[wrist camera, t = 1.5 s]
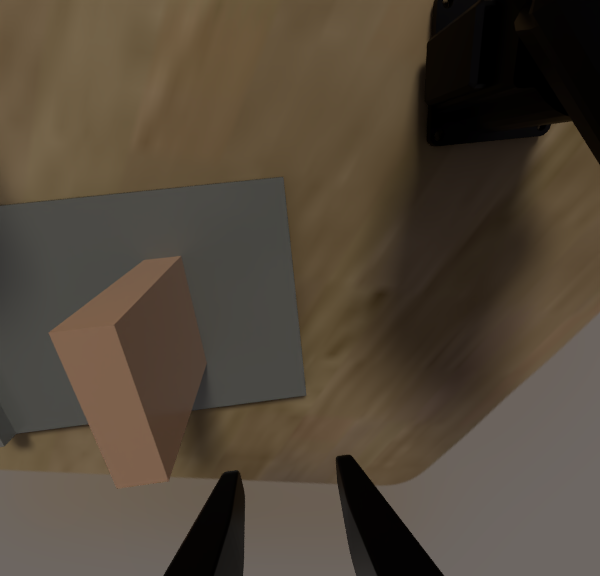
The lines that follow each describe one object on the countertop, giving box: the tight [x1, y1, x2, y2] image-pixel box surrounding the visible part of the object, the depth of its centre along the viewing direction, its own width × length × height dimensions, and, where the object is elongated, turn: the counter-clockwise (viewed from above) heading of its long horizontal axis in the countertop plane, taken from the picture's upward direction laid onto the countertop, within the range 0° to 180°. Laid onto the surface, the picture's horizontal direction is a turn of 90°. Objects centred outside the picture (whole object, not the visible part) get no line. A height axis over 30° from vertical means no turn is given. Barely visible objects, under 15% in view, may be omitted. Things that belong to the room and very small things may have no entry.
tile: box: [49, 256, 207, 489], centre depth 15 cm, size 2×7×8 cm, turn 5°
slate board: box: [0, 177, 306, 447], centre depth 18 cm, size 20×14×2 cm
